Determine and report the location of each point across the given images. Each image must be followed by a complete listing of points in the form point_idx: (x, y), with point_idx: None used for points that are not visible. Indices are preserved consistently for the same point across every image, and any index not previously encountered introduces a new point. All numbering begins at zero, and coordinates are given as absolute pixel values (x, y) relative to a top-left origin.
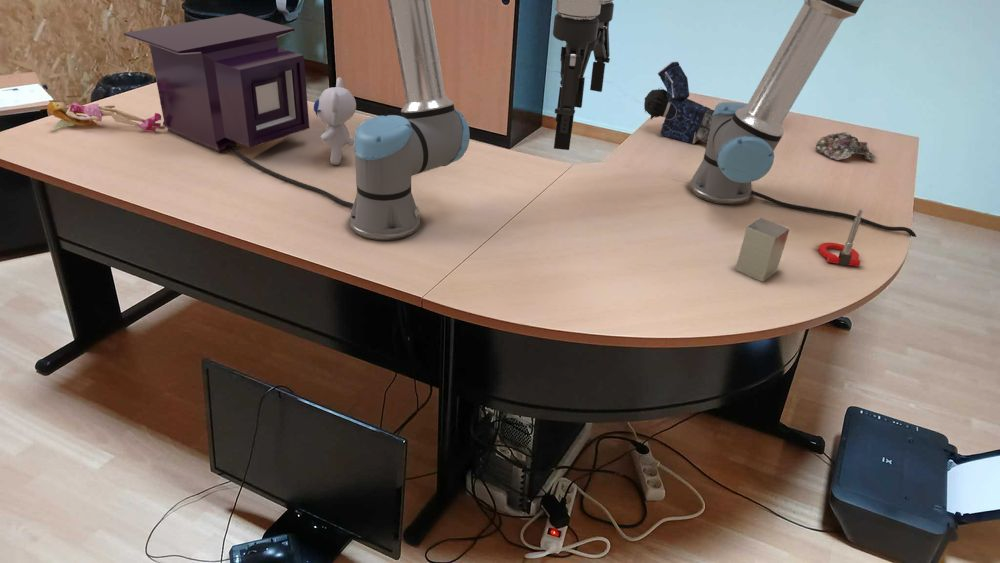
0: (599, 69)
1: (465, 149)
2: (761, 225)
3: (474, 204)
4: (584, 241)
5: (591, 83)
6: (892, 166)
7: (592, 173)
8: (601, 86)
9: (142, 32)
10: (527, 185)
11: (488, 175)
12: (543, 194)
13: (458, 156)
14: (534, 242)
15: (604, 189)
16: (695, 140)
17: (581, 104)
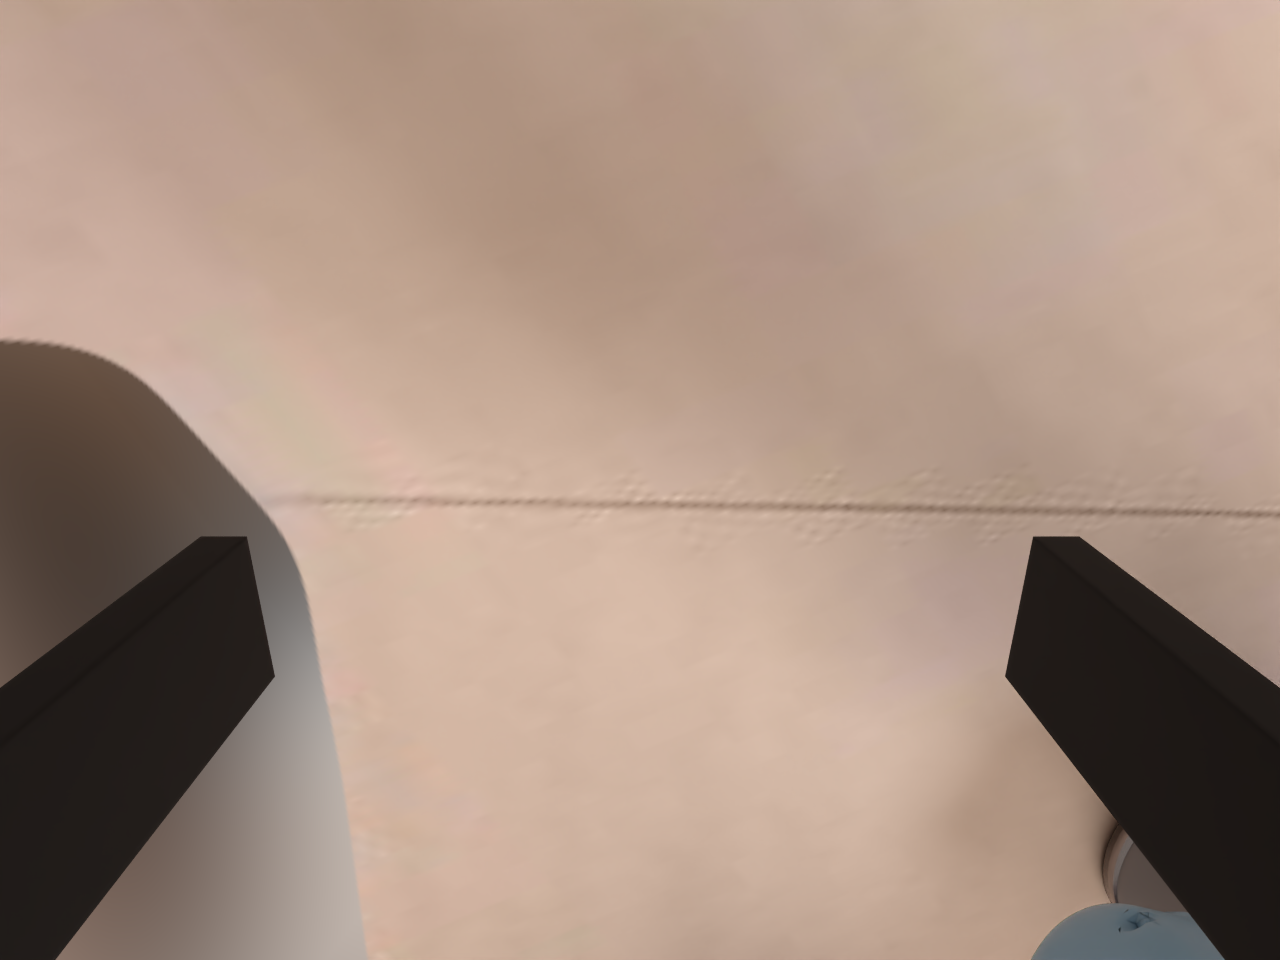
0: (20, 829)
1: (1186, 935)
2: None
3: (929, 684)
4: (1085, 125)
5: (226, 727)
6: None
7: (295, 377)
8: (202, 575)
9: None
10: (632, 586)
11: (632, 752)
12: (683, 490)
13: (1187, 921)
14: (1179, 337)
15: (444, 248)
16: None
17: (1076, 554)
